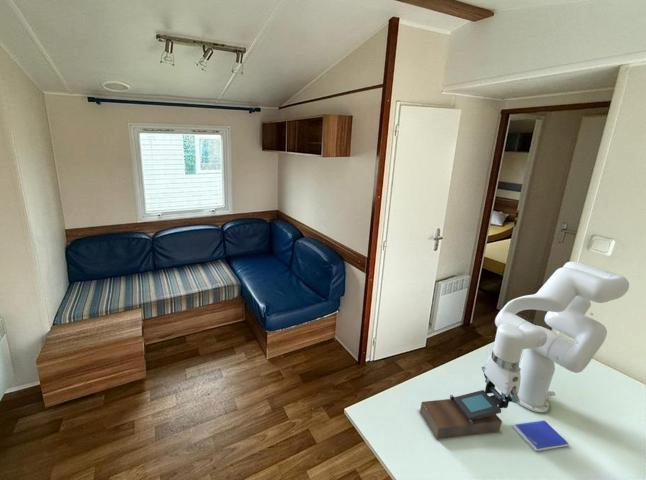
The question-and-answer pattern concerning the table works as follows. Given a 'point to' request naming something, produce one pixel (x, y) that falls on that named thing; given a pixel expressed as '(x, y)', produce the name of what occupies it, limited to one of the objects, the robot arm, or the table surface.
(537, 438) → the hard drive
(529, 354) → the robot arm
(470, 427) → the stand
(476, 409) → the device
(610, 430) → the table surface
